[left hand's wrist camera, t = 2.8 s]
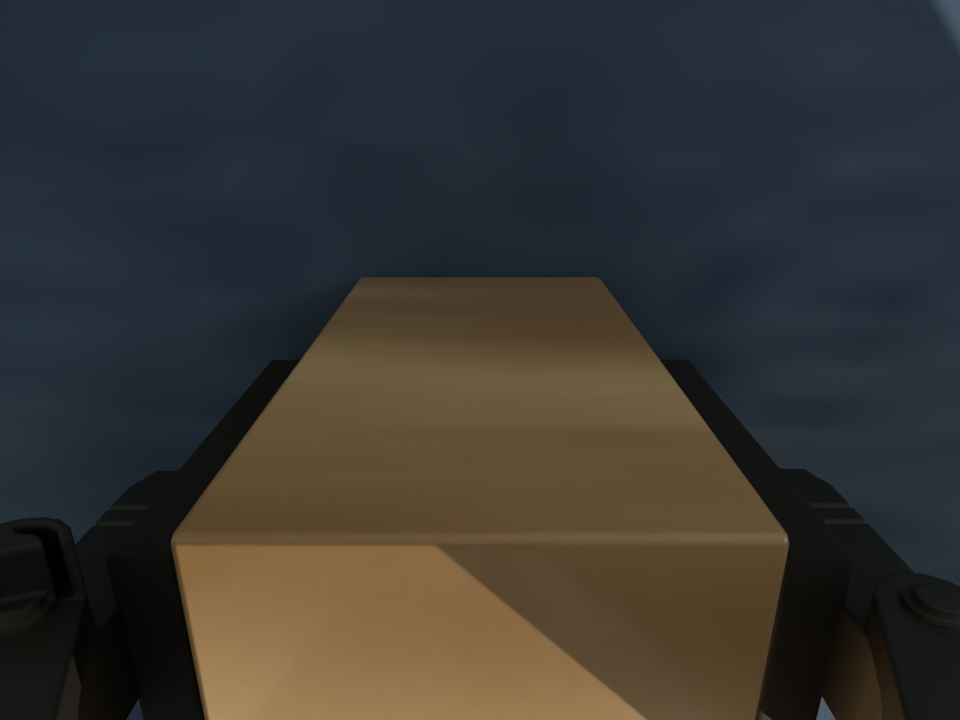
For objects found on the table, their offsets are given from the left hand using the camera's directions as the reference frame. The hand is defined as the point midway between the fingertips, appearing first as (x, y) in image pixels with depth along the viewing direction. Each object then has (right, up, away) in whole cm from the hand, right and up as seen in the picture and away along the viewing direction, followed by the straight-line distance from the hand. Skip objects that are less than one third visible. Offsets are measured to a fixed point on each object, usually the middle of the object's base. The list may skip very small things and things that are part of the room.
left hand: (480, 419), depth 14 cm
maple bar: (0, -8, +4) cm, 9 cm away
